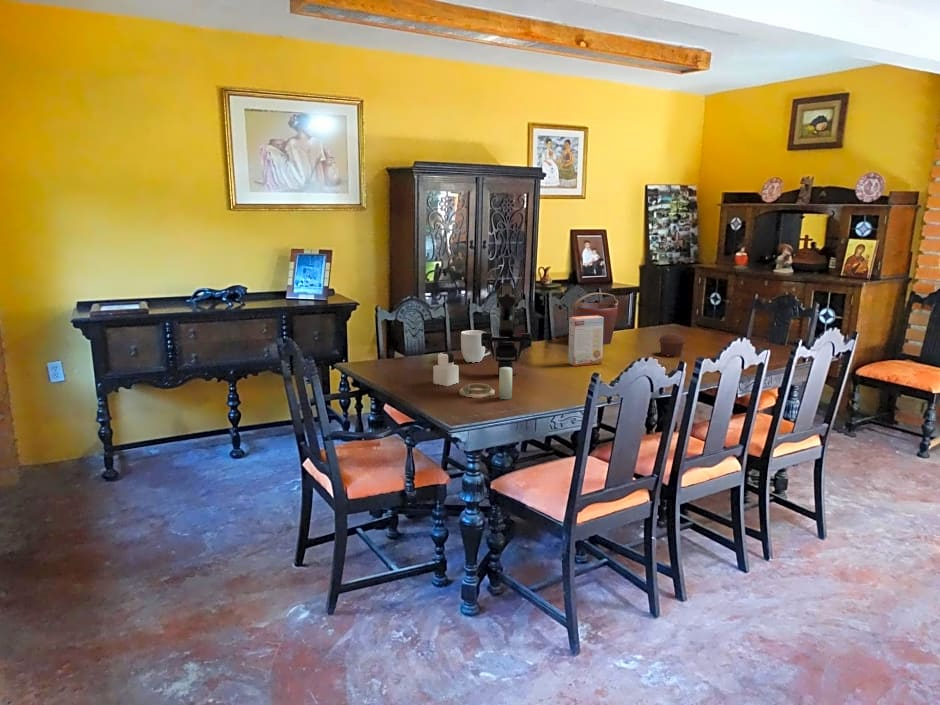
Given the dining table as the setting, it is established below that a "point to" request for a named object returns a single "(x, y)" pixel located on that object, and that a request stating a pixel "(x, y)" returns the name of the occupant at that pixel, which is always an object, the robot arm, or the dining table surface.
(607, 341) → the bucket
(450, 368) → the medicine bottle
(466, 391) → the flange plate
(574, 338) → the cracker box
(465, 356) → the mug
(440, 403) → the dining table surface
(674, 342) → the muffin
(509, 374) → the post
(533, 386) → the dining table surface
